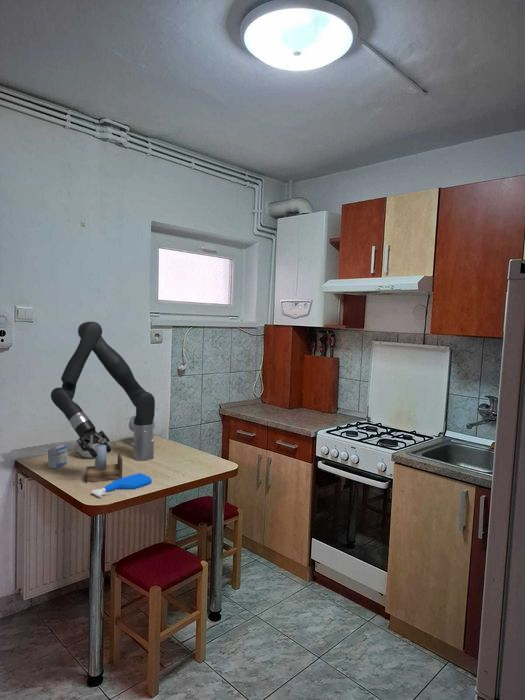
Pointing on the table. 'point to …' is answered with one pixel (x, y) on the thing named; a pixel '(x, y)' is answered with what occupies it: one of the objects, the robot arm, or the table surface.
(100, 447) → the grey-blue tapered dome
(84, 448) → the robot arm
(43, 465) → the table surface
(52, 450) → the medicine box
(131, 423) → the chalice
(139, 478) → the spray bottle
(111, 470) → the shelf step
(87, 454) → the paper bowls
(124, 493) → the table surface
